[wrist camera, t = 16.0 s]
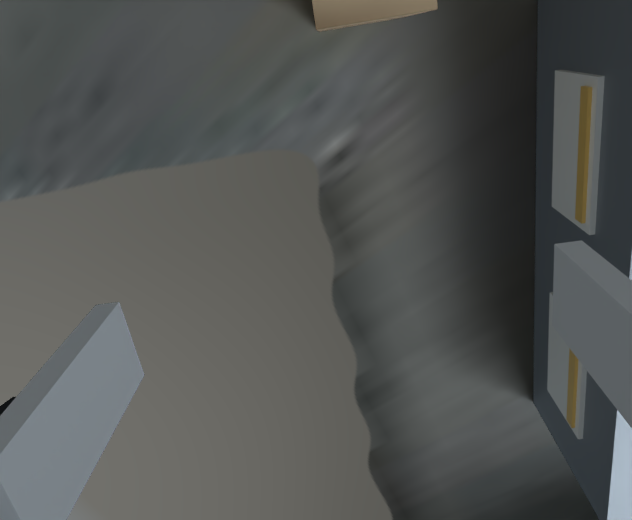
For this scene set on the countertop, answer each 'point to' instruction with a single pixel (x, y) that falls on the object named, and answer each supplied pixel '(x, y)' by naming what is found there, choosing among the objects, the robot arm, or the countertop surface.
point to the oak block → (365, 11)
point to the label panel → (583, 223)
